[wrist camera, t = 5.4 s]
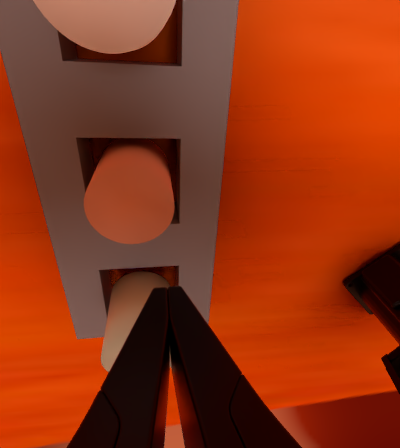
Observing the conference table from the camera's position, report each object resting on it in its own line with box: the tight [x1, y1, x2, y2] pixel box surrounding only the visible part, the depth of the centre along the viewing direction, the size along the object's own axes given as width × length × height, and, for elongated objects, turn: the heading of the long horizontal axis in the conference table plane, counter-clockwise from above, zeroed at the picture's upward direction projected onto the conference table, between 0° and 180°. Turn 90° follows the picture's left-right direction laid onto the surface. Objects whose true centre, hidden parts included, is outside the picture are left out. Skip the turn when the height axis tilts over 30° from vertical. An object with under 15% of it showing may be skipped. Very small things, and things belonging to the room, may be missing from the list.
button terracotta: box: [84, 138, 175, 244], centre depth 16 cm, size 4×4×5 cm
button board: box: [0, 0, 239, 339], centre depth 17 cm, size 25×10×3 cm, turn 177°
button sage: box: [101, 271, 171, 372], centre depth 18 cm, size 4×4×5 cm
